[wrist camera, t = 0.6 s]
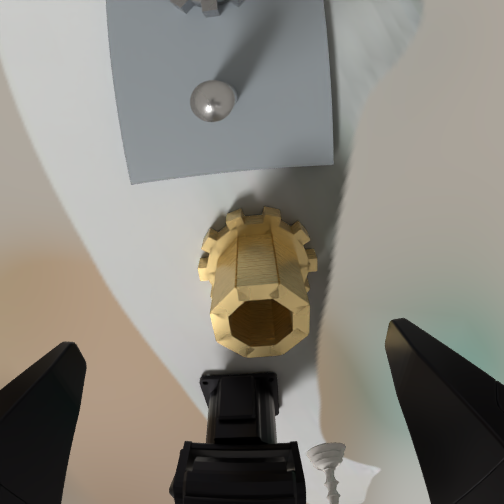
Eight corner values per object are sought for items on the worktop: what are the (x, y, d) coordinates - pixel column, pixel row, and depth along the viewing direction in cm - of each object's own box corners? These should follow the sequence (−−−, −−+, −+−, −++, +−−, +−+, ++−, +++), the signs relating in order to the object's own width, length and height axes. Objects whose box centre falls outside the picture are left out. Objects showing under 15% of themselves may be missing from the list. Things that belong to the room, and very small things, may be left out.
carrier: (329, 160, 17) (360, 192, 13) (136, 179, 18) (99, 217, 13) (308, -67, 10) (330, -112, 6) (111, -40, 11) (67, -71, 6)
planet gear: (313, 299, 22) (329, 364, 17) (210, 307, 22) (201, 374, 17) (313, 202, 19) (339, 253, 13) (192, 213, 19) (171, 267, 14)
